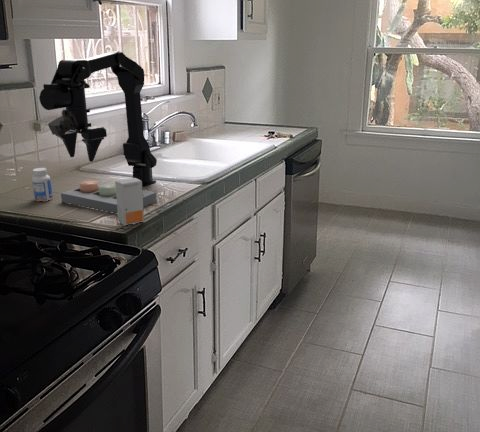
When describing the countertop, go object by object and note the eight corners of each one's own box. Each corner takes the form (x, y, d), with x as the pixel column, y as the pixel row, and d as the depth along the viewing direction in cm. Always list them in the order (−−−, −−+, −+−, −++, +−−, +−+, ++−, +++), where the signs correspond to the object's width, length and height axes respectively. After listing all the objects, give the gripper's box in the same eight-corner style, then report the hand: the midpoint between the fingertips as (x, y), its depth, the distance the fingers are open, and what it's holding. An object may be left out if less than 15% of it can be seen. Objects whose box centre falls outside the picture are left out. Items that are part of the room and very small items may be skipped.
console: (97, 190, 176) (96, 181, 175) (156, 201, 164) (155, 192, 163) (61, 202, 164) (60, 193, 163) (123, 215, 152) (122, 205, 151)
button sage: (108, 193, 167) (107, 183, 166) (121, 195, 164) (121, 185, 163) (95, 197, 163) (94, 187, 161) (109, 200, 160) (108, 190, 159)
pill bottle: (47, 195, 171) (43, 166, 168) (56, 198, 168) (52, 168, 164) (31, 199, 167) (27, 169, 164) (40, 203, 164) (36, 172, 160)
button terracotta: (89, 189, 171) (88, 179, 170) (102, 191, 168) (101, 182, 167) (76, 193, 166) (75, 184, 165) (89, 196, 164) (88, 186, 163)
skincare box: (124, 227, 143) (121, 184, 139) (118, 222, 146) (114, 180, 142) (145, 222, 147) (142, 180, 143) (138, 218, 150) (135, 177, 146)
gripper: (31, 106, 151) (39, 160, 156) (71, 111, 140) (77, 169, 145) (65, 101, 159) (71, 153, 164) (105, 107, 148) (110, 161, 153)
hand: (81, 159), depth 157 cm, fingers open, 9 cm apart
